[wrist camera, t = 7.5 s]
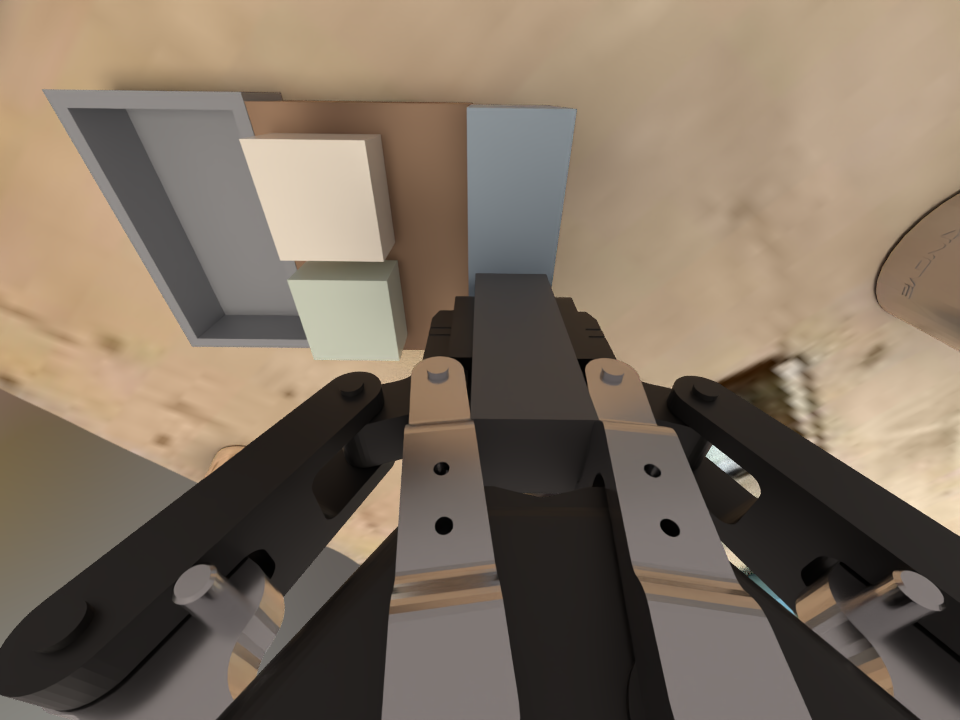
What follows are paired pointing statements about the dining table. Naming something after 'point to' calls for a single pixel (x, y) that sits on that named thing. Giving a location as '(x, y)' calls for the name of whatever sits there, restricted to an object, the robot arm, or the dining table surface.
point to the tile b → (351, 309)
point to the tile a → (323, 195)
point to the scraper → (522, 301)
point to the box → (189, 207)
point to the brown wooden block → (404, 189)
